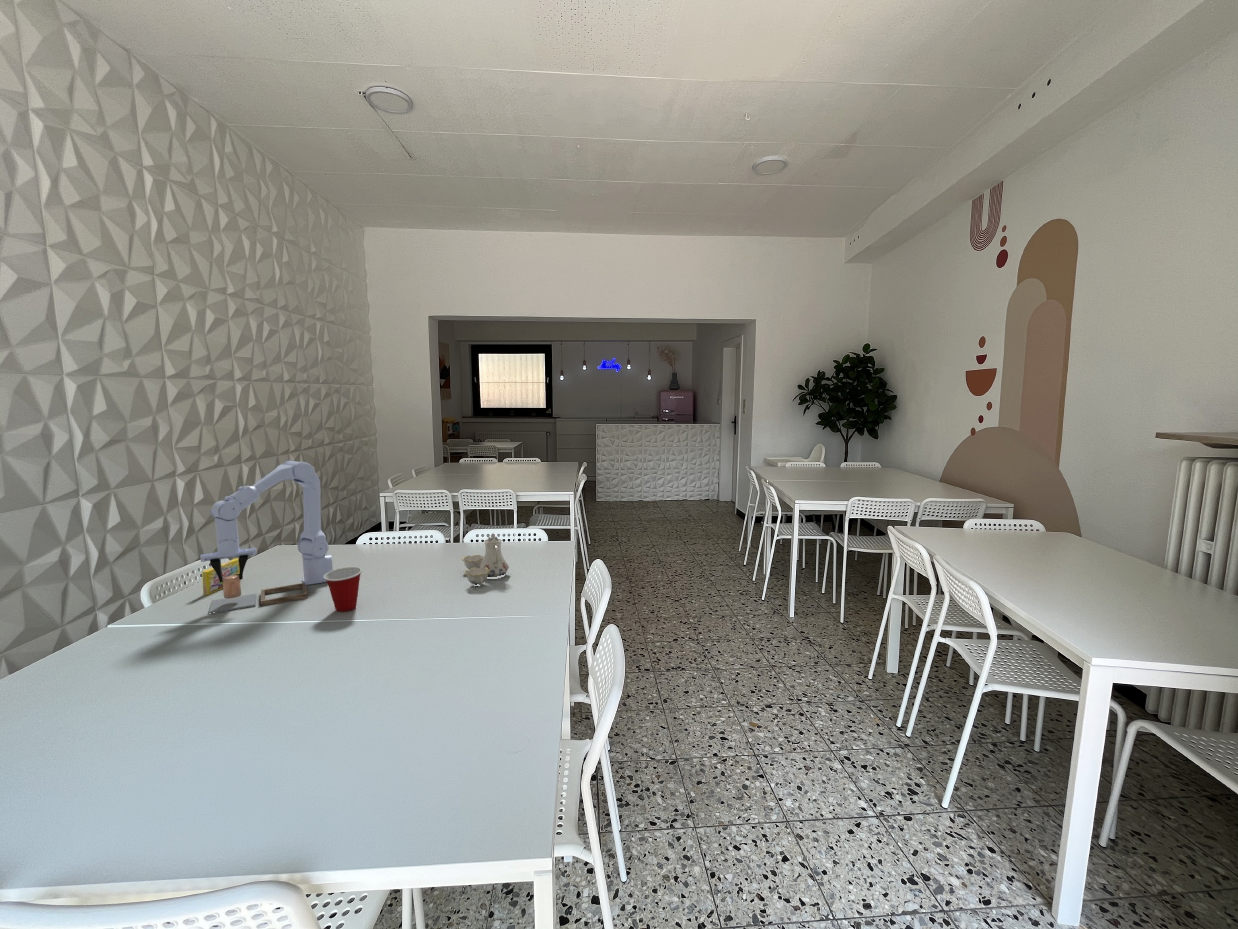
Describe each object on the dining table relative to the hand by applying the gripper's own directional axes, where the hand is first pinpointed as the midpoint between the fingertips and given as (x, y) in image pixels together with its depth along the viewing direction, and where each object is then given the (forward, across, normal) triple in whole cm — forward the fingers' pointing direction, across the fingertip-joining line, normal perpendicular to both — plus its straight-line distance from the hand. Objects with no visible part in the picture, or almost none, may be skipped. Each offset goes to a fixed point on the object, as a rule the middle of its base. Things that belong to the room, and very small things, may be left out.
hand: (231, 580), depth 180 cm
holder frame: (+8, -14, 0) cm, 16 cm away
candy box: (+8, +4, -22) cm, 24 cm away
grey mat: (+8, 0, 0) cm, 8 cm away
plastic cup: (+8, -30, +24) cm, 39 cm away
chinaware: (+8, -78, +17) cm, 80 cm away
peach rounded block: (+5, 0, 0) cm, 5 cm away
